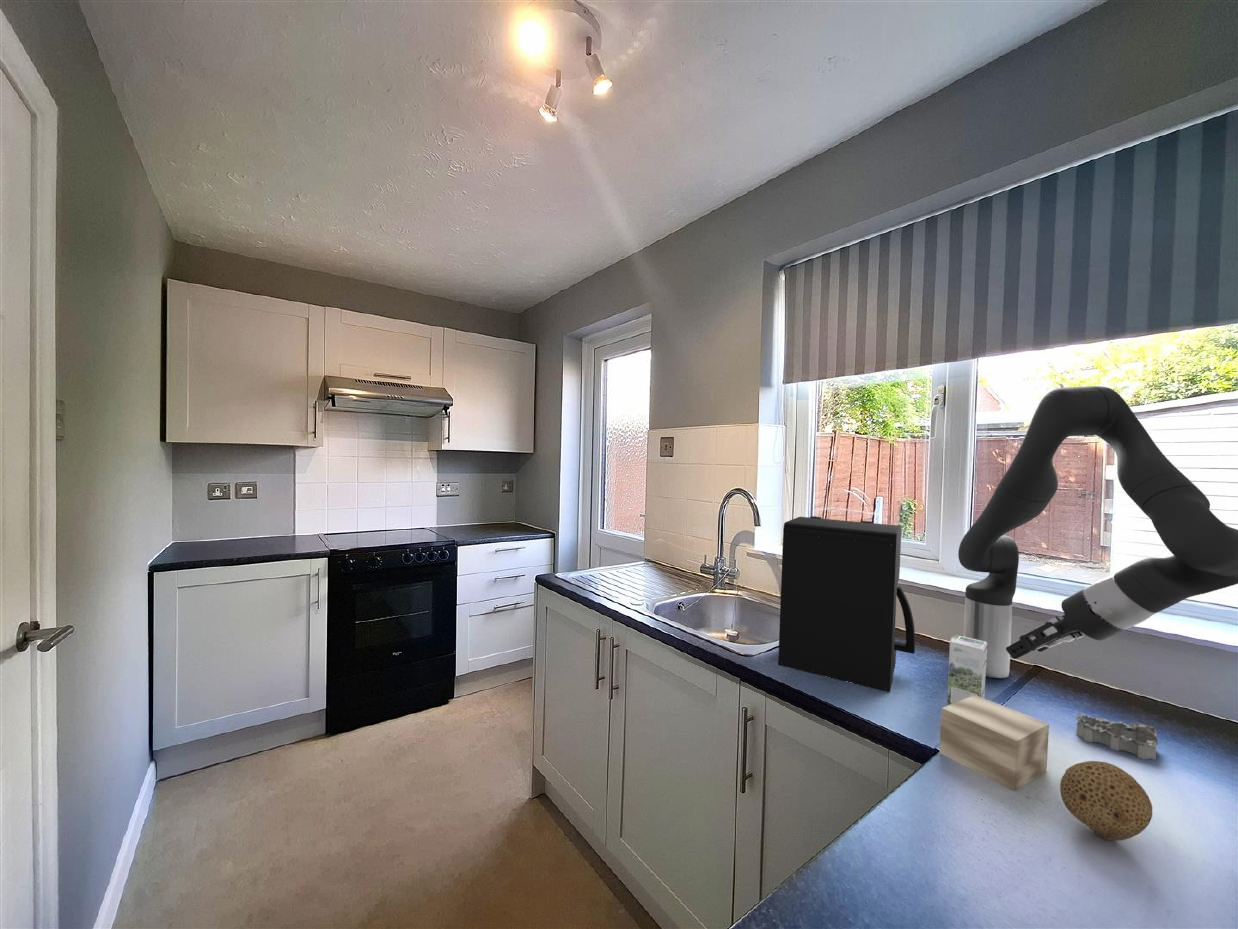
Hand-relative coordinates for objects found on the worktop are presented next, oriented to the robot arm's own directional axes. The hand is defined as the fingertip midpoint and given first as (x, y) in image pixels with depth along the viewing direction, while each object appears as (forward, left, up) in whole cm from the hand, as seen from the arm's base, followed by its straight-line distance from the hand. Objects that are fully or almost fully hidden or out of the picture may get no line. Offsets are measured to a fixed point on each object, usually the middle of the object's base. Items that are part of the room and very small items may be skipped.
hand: (1022, 650), depth 93 cm
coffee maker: (+4, -34, -16) cm, 38 cm away
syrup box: (0, -9, -16) cm, 19 cm away
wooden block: (+14, +3, -16) cm, 22 cm away
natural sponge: (+19, +19, -16) cm, 31 cm away
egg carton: (-14, +9, -16) cm, 23 cm away
